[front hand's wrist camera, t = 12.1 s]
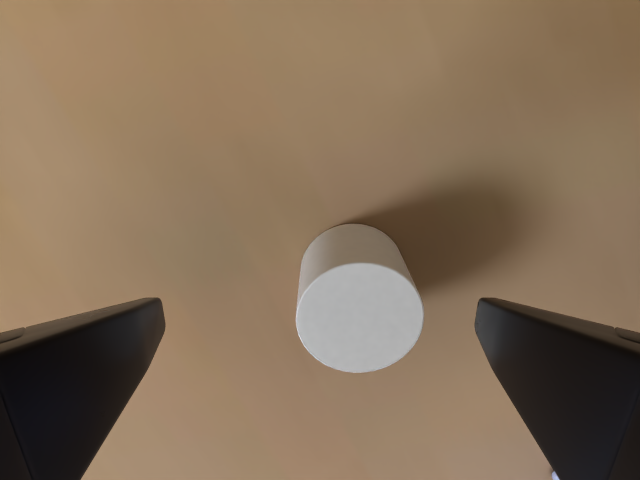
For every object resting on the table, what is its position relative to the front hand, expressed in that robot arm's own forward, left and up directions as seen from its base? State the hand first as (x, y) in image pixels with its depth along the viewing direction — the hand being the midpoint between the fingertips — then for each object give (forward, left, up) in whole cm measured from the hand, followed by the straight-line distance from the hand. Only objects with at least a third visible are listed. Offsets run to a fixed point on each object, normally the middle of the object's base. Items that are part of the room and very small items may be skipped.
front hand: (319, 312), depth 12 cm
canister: (-2, +2, -8) cm, 9 cm away
